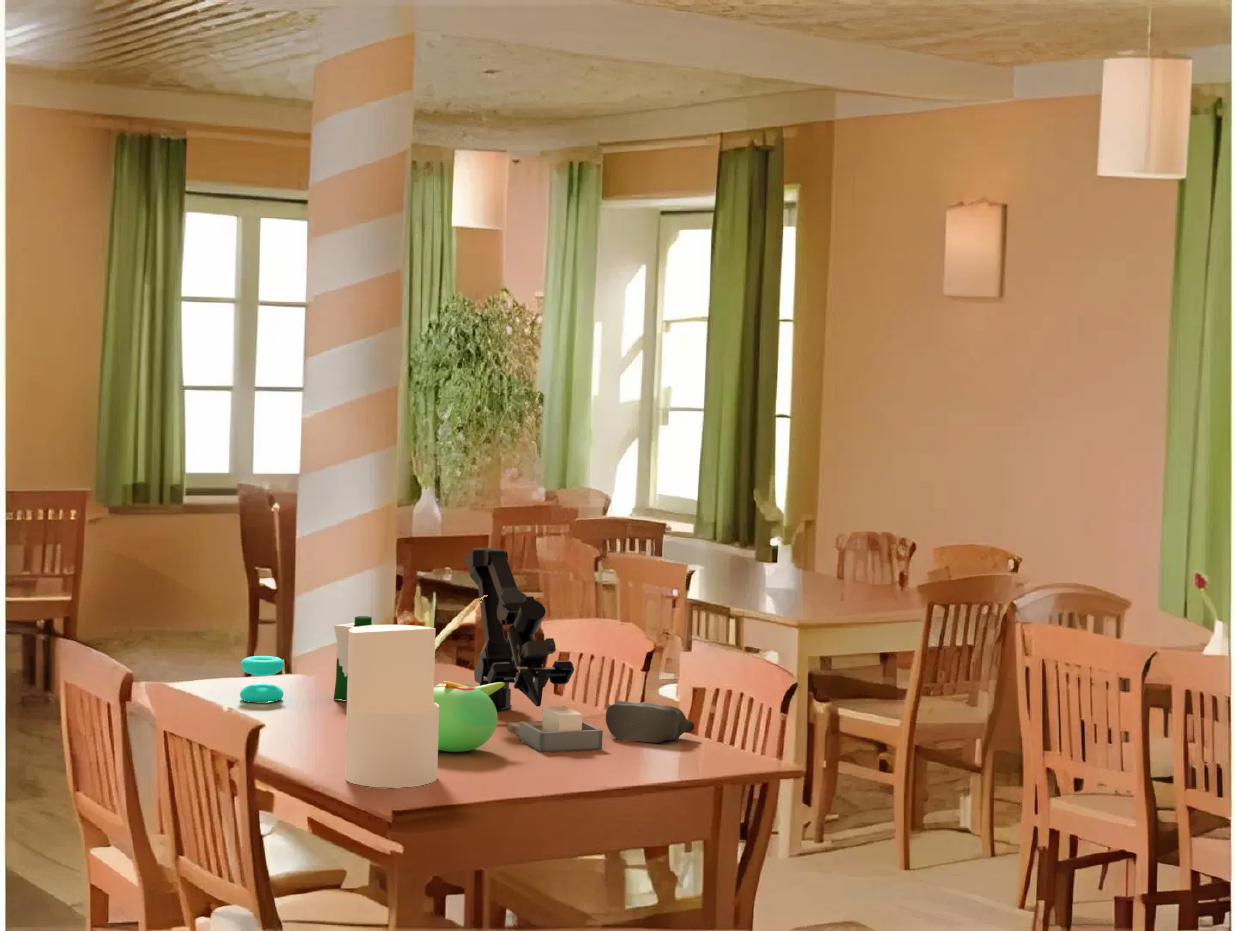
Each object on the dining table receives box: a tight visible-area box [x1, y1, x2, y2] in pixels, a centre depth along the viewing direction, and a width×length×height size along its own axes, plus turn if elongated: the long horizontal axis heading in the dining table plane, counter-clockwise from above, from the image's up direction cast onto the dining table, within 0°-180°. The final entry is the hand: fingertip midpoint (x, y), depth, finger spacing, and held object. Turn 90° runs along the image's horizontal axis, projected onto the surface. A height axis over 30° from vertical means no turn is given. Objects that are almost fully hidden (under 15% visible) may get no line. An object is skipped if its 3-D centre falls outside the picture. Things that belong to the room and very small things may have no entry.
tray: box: [518, 720, 604, 754], centre depth 354 cm, size 14×14×4 cm
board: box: [506, 720, 543, 736], centre depth 366 cm, size 12×11×2 cm
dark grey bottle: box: [605, 700, 695, 744], centre depth 365 cm, size 18×11×8 cm, turn 67°
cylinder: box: [344, 624, 439, 787], centre depth 317 cm, size 17×17×28 cm
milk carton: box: [333, 615, 374, 701], centre depth 400 cm, size 9×9×20 cm
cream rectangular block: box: [542, 705, 583, 732], centre depth 353 cm, size 7×5×10 cm
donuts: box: [239, 655, 285, 703], centre depth 396 cm, size 10×10×10 cm
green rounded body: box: [434, 680, 505, 753], centre depth 345 cm, size 18×17×15 cm
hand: (538, 705), depth 366 cm, fingers closed
